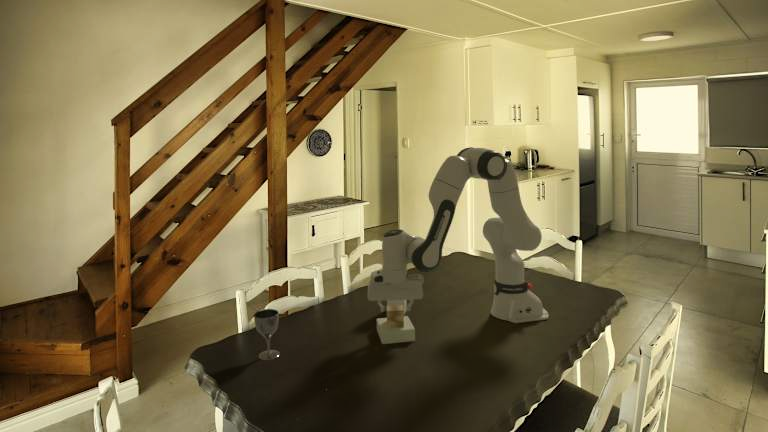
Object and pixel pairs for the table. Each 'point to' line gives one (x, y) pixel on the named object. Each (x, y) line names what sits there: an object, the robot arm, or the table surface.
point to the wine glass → (267, 330)
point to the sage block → (395, 331)
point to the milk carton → (398, 303)
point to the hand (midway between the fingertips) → (395, 310)
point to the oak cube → (395, 316)
